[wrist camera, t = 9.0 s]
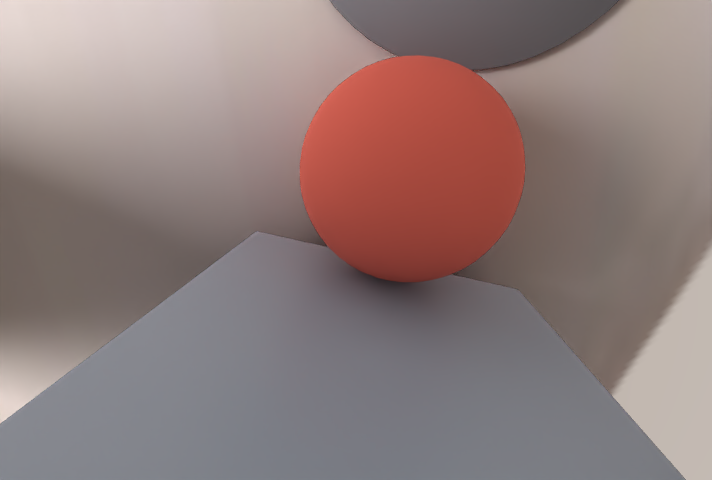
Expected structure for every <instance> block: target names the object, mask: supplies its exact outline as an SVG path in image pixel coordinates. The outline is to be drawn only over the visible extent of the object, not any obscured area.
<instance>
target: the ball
mask: <svg viewBox="0 0 712 480" xmlns="http://www.w3.org/2000/svg"><path fill="white" fill-rule="evenodd" d="M524 179H525V155H524V147H523V142H522V137H521V133H520V130H519V127H518V124H517V122H516V120H515V118H514V116H513V114H512V112H511V110H510V108H509V107H508V105H507V104H506V102H505V101H504V99H503V98H502V97H501V96H500V94H499V93H498V92H497V91H496V90H495V89H494V88H493V87H492V86H491V85H490V84H489V83H488V82H487V81H485V80H484V79H483V78H482V77H480V76H479V75H477V74H476V73H475V72H473V71H472V70H470V69H468V68H466V67H464V66H462V65H460V64H457V63H455V62H452V61H449V60H446V59H441V58H437V57H431V56H420V55H416V56H400V57H394V58H389V59H385V60H382V61H378V62H376V63H374V64H371V65H369V66H366V67H364V68H363V69H361V70H359V71H358V72H356V73H354V74H353V75H351V76H350V77H349V78H347V79H346V80H345V81H343V82H342V83H341V84H340V85H338V86H337V87H336V88H335V89H334V90H333V91H332V92H331V93H330V94H329V95H328V97H327V98H326V99H325V101H324V102H323V103H322V104H321V106H320V107H319V109H318V111H317V112H316V114H315V116H314V118H313V119H312V121H311V124H310V126H309V128H308V131H307V133H306V136H305V139H304V143H303V147H302V152H301V160H300V185H301V193H302V197H303V201H304V205H305V208H306V211H307V213H308V215H309V218H310V220H311V222H312V224H313V226H314V228H315V229H316V231H317V233H318V234H319V236H320V237H321V238H322V240H323V241H324V242H325V244H326V245H327V246H328V247H329V248H330V249H331V250H332V251H333V252H334V253H335V254H336V255H337V256H338V257H339V258H341V259H342V260H343V261H345V262H346V263H347V264H349V265H350V266H352V267H354V268H356V269H357V270H359V271H361V272H363V273H366V274H368V275H371V276H373V277H376V278H380V279H384V280H388V281H396V282H422V281H429V280H434V279H438V278H441V277H445V276H448V275H451V274H453V273H455V272H457V271H460V270H462V269H464V268H465V267H467V266H469V265H470V264H472V263H474V262H475V261H476V260H478V259H479V258H480V257H481V256H483V255H484V254H485V253H486V252H487V251H488V250H489V249H490V248H491V247H492V246H493V245H494V244H495V243H496V242H497V241H498V240H499V239H500V237H501V236H502V234H503V233H504V232H505V230H506V229H507V227H508V226H509V224H510V222H511V220H512V218H513V216H514V214H515V212H516V209H517V206H518V203H519V201H520V198H521V195H522V190H523V185H524Z"/></svg>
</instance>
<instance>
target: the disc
mask: <svg viewBox="0 0 712 480" xmlns="http://www.w3.org/2000/svg"><path fill="white" fill-rule="evenodd" d="M330 1H331V3H332V4H333V6H334V7H335V8H336V9H337V10H338V11H339V12H340V13H341V14H342V15H343V16H344V18H345V19H346V20H347V21H348V22H349V23H350V24H351V25H352V26H353V27H354V28H356V29H357V30H358V31H359V32H361V33H362V34H363V35H364V36H366V37H367V38H368V39H369V40H371V41H372V42H374V43H375V44H377V45H379V46H380V47H382V48H384V49H385V50H387V51H389V52H390V53H392V54H395V55H397V56H416V55H420V56H431V57H437V58H441V59H446V60H449V61H452V62H455V63H457V64H460V65H462V66H464V67H466V68H468V69H470V70H481V69H488V68H494V67H499V66H505V65H509V64H512V63H516V62H519V61H522V60H525V59H528V58H531V57H534V56H536V55H538V54H540V53H542V52H545V51H547V50H549V49H551V48H553V47H556V46H558V45H559V44H561V43H563V42H564V41H566V40H568V39H569V38H571V37H573V36H574V35H576V34H577V33H579V32H581V31H582V30H584V29H585V28H587V27H588V26H589V25H591V24H592V23H593V22H594V21H596V20H597V19H598V18H600V17H601V16H602V15H603V14H605V13H606V12H607V11H608V10H610V9H611V8H612V7H613V6H614V5H615V4H616V3H617V2H618V1H619V0H330Z"/></svg>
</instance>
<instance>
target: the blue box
mask: <svg viewBox="0 0 712 480" xmlns="http://www.w3.org/2000/svg"><path fill="white" fill-rule="evenodd" d="M0 480H686V479H685V478H684V477H683V476H682V475H681V474H680V473H679V471H678V470H677V469H676V468H675V467H674V466H673V465H672V463H671V462H670V461H669V460H668V459H667V458H666V457H665V456H664V454H663V453H662V452H661V451H660V450H659V449H658V448H657V446H656V445H655V444H654V443H653V442H652V441H651V440H650V439H649V437H648V436H647V435H646V434H645V433H644V432H643V431H642V429H641V428H640V427H639V426H638V425H637V424H636V423H635V421H634V420H633V419H632V418H631V417H630V416H629V415H628V414H627V412H625V410H624V409H623V408H622V407H621V406H620V404H619V403H618V402H617V401H616V400H615V399H614V398H613V397H612V395H611V394H610V393H609V392H608V391H607V390H606V389H605V387H604V386H603V385H602V384H601V383H600V382H599V381H598V380H597V378H596V377H595V376H594V375H593V374H592V373H591V372H590V370H589V369H588V368H587V367H586V366H585V365H584V364H583V363H582V361H581V360H580V359H579V358H578V357H577V356H576V355H575V353H574V352H573V351H572V350H571V349H570V348H569V347H568V346H567V344H566V343H565V342H564V341H563V340H562V339H561V338H560V336H559V335H558V334H557V333H556V332H555V331H554V330H553V328H552V327H551V326H550V325H549V324H548V323H547V322H546V321H545V319H544V318H543V317H542V316H541V315H540V314H539V313H538V311H537V310H536V309H535V308H534V307H533V306H532V305H531V304H530V302H529V301H528V300H527V299H526V298H525V297H524V296H523V294H522V293H521V292H520V291H519V290H518V289H514V288H510V287H505V286H501V285H496V284H492V283H487V282H483V281H478V280H474V279H469V278H465V277H460V276H456V275H448V276H445V277H441V278H438V279H434V280H429V281H422V282H396V281H388V280H384V279H380V278H376V277H373V276H371V275H368V274H366V273H363V272H361V271H359V270H357V269H356V268H354V267H352V266H350V265H349V264H347V263H346V262H345V261H343V260H342V259H341V258H339V257H338V256H337V255H336V254H335V253H334V252H333V251H332V250H331V249H330V248H329V247H325V246H321V245H316V244H312V243H307V242H303V241H298V240H294V239H289V238H285V237H280V236H276V235H271V234H267V233H262V232H258V231H256V232H255V233H253V234H252V235H251V236H249V237H248V238H247V239H245V240H244V241H243V242H241V243H240V244H239V245H237V246H236V247H235V248H233V249H232V250H231V251H229V252H228V253H227V254H225V255H224V256H223V257H221V258H220V259H219V260H217V261H216V262H215V263H213V264H212V265H211V266H209V267H208V268H207V269H205V270H204V271H203V272H201V273H200V274H199V275H197V276H196V277H195V278H193V279H192V280H191V281H190V282H188V283H187V284H186V285H184V286H183V287H182V288H180V289H179V290H178V291H176V292H175V293H174V294H172V295H171V296H170V297H168V298H167V299H166V300H164V301H163V302H162V303H160V304H159V305H158V306H156V307H155V308H154V309H152V310H151V311H150V312H148V313H147V314H146V315H144V316H143V317H142V318H140V319H139V320H138V321H136V322H135V323H134V324H132V325H131V326H130V327H128V328H127V329H126V330H124V331H123V332H122V333H120V334H119V335H118V336H116V337H115V338H114V339H112V340H111V341H110V342H108V343H107V344H106V345H104V346H103V347H102V348H100V349H99V350H98V351H96V352H95V353H94V354H92V355H91V356H90V357H88V358H87V359H86V360H84V361H83V362H82V363H80V364H79V365H78V366H76V367H75V368H74V369H72V370H71V371H70V372H68V373H67V374H66V375H64V376H63V377H62V378H60V379H59V380H58V381H57V382H55V383H54V384H53V385H51V386H50V387H49V388H47V389H46V390H45V391H43V392H42V393H41V394H39V395H38V396H37V397H35V398H34V399H33V400H31V401H30V402H29V403H27V404H26V405H25V406H23V407H22V408H21V409H19V410H18V411H17V412H15V413H14V414H13V415H11V416H10V417H9V418H7V419H6V420H5V421H3V422H2V423H1V424H0Z"/></svg>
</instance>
